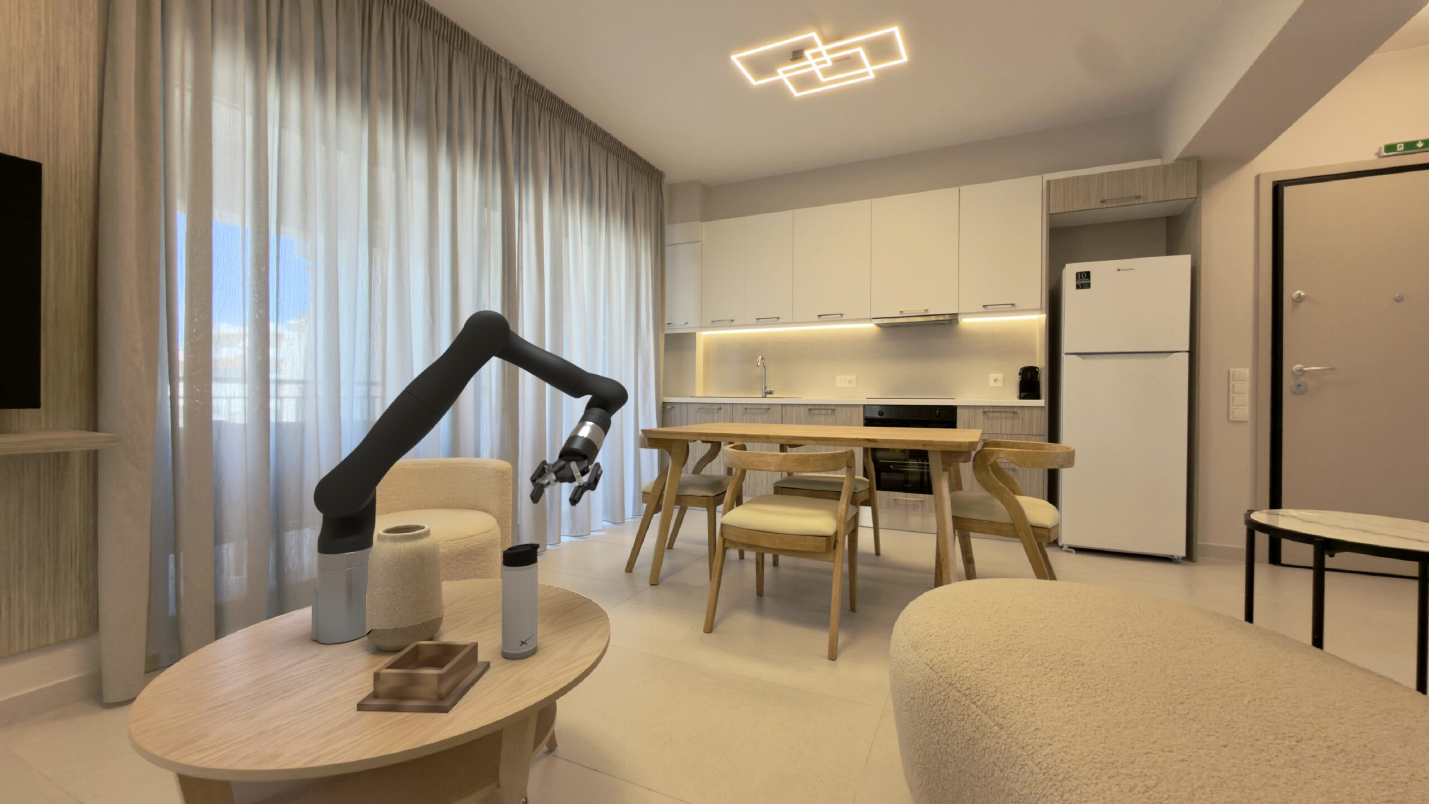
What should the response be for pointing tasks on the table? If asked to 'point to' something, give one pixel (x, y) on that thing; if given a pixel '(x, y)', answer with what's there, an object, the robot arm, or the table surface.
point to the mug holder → (425, 677)
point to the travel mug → (519, 601)
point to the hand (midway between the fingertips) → (552, 502)
